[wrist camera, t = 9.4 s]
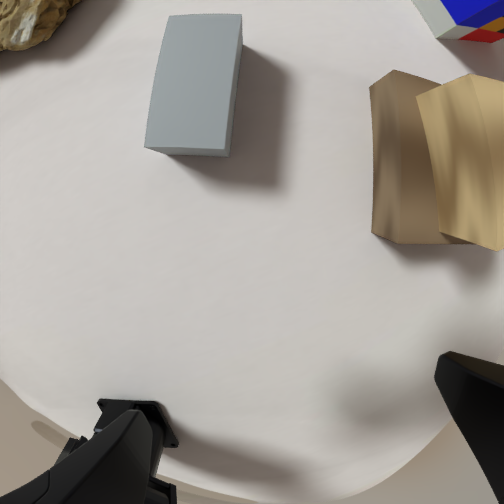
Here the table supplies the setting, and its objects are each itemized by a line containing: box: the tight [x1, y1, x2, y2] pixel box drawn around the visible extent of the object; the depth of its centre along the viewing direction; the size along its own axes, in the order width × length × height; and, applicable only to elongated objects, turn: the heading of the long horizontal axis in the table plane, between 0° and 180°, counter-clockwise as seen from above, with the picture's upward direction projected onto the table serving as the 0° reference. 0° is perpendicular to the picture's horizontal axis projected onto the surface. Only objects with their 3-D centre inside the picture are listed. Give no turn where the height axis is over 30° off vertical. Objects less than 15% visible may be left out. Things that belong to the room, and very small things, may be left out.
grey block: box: [144, 14, 243, 157], centre depth 13 cm, size 8×4×4 cm, turn 175°
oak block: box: [416, 74, 504, 251], centre depth 10 cm, size 8×4×5 cm, turn 13°
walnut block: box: [369, 70, 475, 244], centre depth 15 cm, size 10×8×4 cm
